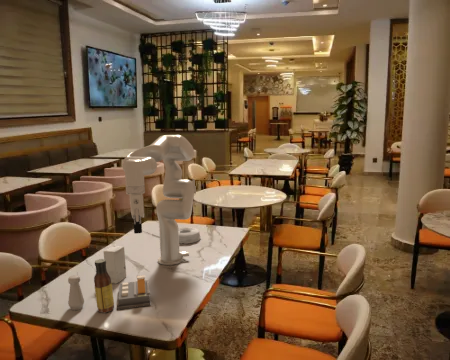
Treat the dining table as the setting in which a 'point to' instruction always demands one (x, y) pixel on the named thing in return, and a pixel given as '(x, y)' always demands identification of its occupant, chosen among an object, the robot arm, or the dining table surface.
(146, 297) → the breaker panel
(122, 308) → the dark brown grooved strip
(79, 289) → the salt shaker
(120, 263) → the skincare box
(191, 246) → the dining table surface
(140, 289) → the lever
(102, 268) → the sauce bottle
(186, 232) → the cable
